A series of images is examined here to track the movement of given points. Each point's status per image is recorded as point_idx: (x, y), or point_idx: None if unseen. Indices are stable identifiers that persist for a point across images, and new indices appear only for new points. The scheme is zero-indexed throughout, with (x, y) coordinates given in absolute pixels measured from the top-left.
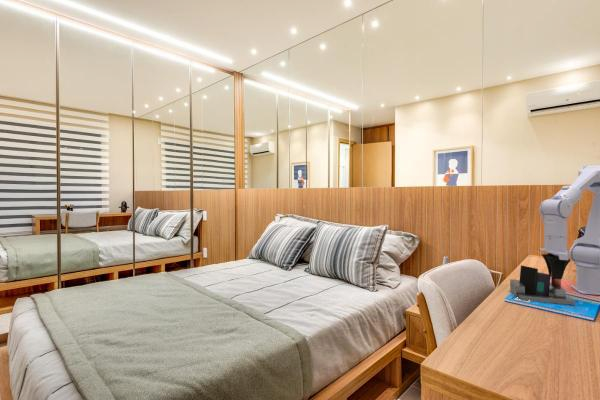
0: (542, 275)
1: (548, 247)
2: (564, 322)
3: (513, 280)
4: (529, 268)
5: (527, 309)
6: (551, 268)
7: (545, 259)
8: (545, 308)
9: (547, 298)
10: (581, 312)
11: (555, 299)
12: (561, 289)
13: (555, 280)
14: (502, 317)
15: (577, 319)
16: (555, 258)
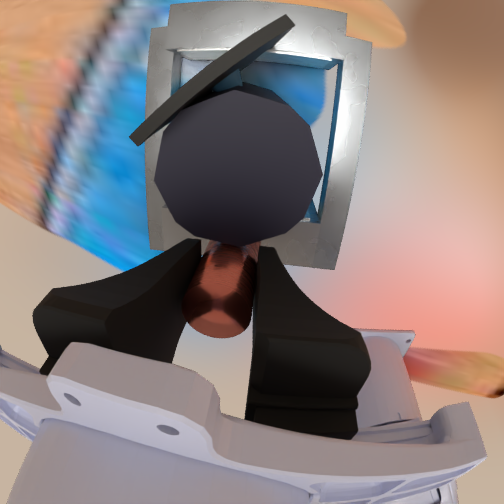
0: (159, 168)
1: (30, 458)
2: (5, 148)
3: (316, 20)
4: (199, 77)
5: (59, 58)
6: (150, 266)
7: (262, 312)
8: (84, 118)
9: (145, 147)
10: (92, 227)
11: (146, 179)
12: (166, 234)
13: (207, 245)
14: (4, 10)
15: (33, 189)
16: (48, 347)
